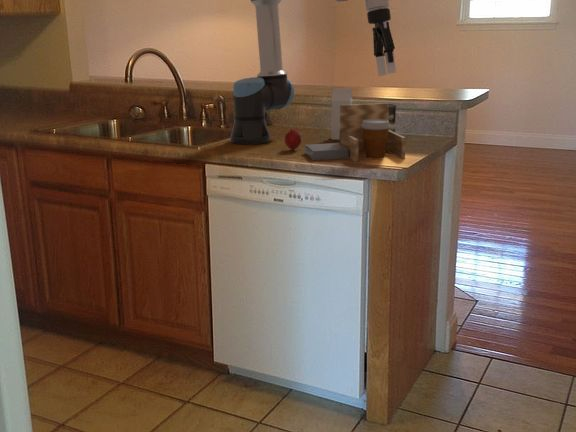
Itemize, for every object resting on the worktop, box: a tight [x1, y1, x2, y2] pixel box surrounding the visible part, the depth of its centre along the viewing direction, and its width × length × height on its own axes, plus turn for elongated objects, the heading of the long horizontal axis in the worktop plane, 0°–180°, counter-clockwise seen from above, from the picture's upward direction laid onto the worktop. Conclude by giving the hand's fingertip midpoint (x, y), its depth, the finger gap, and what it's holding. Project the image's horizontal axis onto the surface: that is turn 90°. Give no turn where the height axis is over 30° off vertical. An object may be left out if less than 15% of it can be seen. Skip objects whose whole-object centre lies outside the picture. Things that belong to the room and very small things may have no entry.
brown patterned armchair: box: [339, 102, 407, 162], centre depth 221 cm, size 17×18×16 cm
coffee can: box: [388, 103, 397, 133], centre depth 241 cm, size 10×10×14 cm
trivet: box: [304, 142, 350, 161], centre depth 223 cm, size 12×12×3 cm
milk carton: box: [331, 88, 353, 141], centre depth 252 cm, size 7×7×19 cm
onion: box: [284, 127, 302, 151], centre depth 232 cm, size 6×6×8 cm
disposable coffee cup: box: [361, 119, 390, 160], centre depth 218 cm, size 10×10×12 cm
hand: (387, 74), depth 222 cm, fingers open, 13 cm apart
